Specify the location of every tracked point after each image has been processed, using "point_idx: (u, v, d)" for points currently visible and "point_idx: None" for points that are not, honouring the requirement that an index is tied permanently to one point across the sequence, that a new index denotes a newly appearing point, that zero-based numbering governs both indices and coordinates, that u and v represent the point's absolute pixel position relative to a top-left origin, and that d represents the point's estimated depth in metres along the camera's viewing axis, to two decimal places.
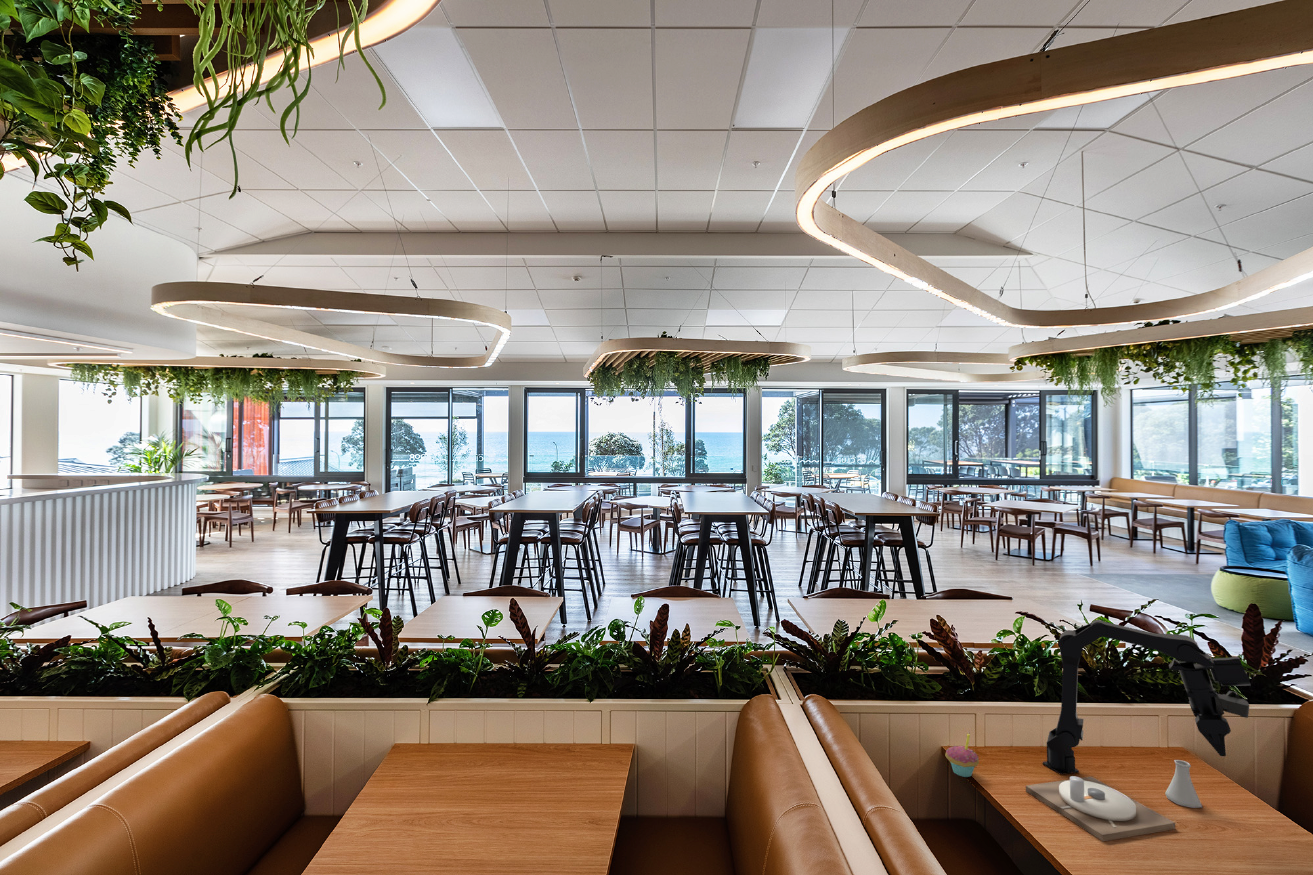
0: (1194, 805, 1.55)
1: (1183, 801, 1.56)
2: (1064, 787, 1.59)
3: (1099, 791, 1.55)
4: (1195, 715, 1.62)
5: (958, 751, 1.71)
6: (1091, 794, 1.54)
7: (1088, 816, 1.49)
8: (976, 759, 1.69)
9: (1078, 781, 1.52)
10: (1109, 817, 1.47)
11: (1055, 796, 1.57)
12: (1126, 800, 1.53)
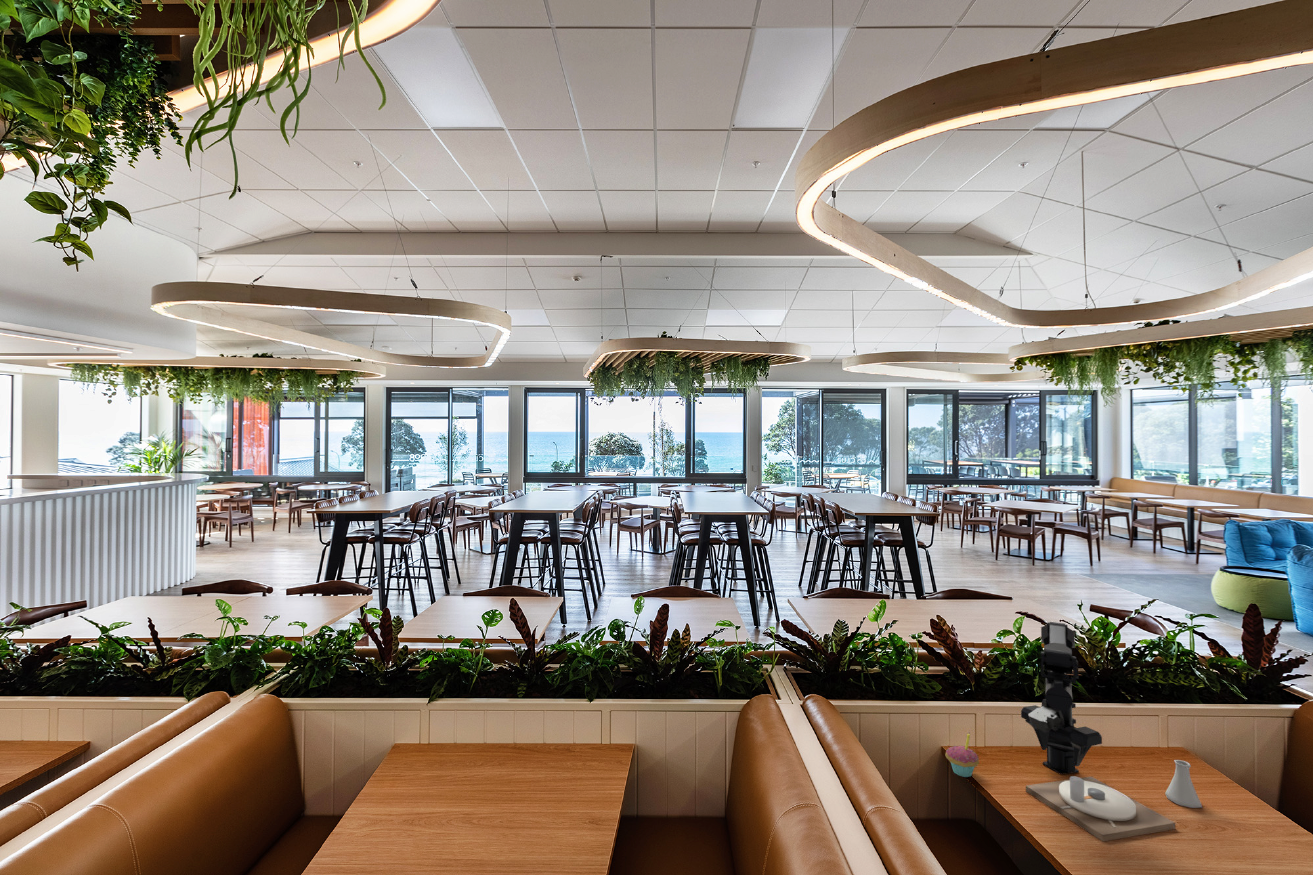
0: (1194, 805, 1.55)
1: (1183, 801, 1.56)
2: (1064, 787, 1.59)
3: (1099, 791, 1.55)
4: None
5: (958, 751, 1.71)
6: (1091, 794, 1.54)
7: (1088, 816, 1.49)
8: (976, 759, 1.69)
9: (1078, 781, 1.52)
10: (1109, 817, 1.47)
11: (1055, 796, 1.57)
12: (1126, 800, 1.53)
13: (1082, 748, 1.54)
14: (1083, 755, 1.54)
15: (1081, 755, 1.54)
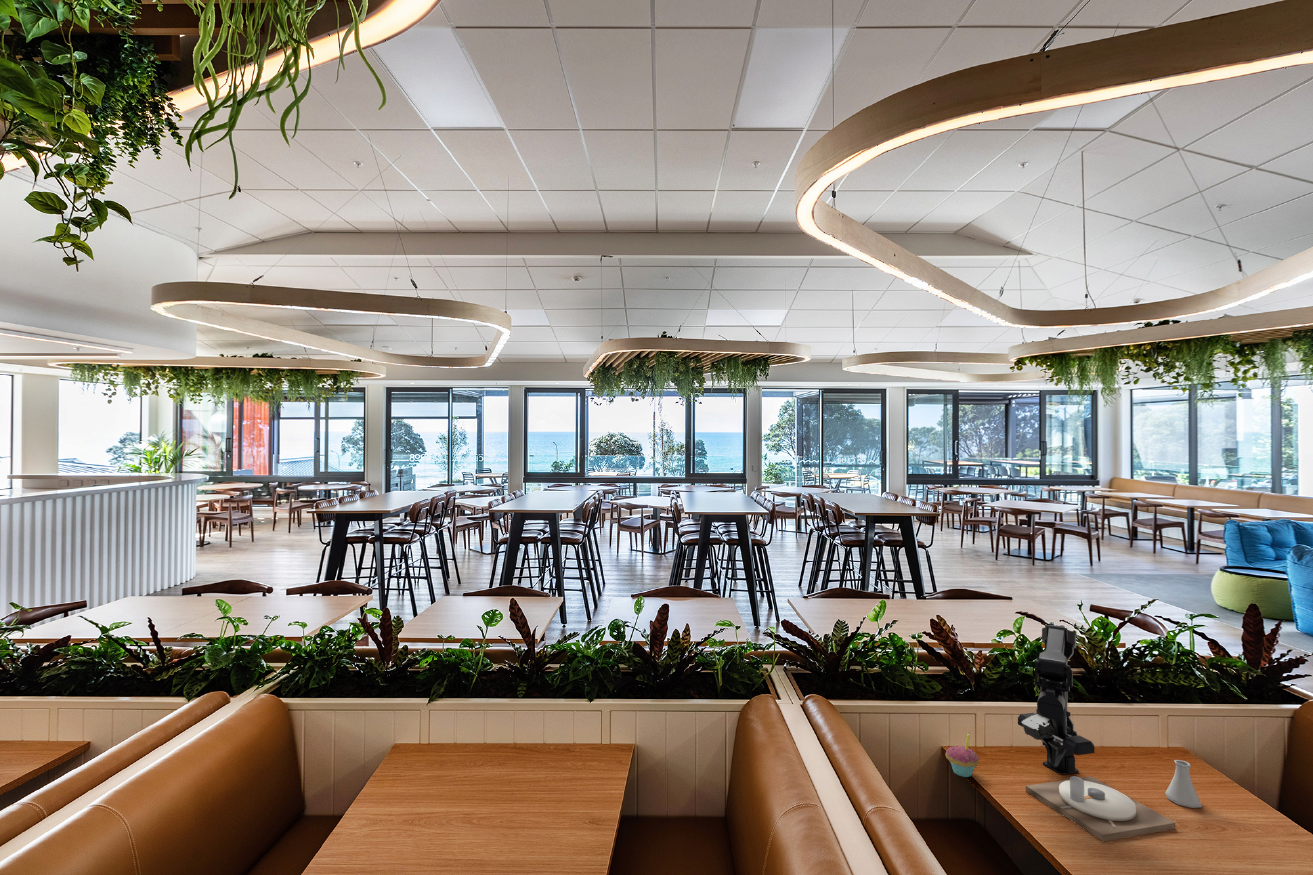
0: (1194, 805, 1.55)
1: (1183, 801, 1.56)
2: (1064, 787, 1.59)
3: (1099, 791, 1.55)
4: None
5: (958, 751, 1.71)
6: (1091, 794, 1.54)
7: (1088, 816, 1.49)
8: (976, 759, 1.69)
9: (1078, 781, 1.52)
10: (1109, 817, 1.47)
11: (1055, 796, 1.57)
12: (1126, 800, 1.53)
13: (1060, 749, 1.59)
14: (1061, 755, 1.59)
15: (1059, 755, 1.59)
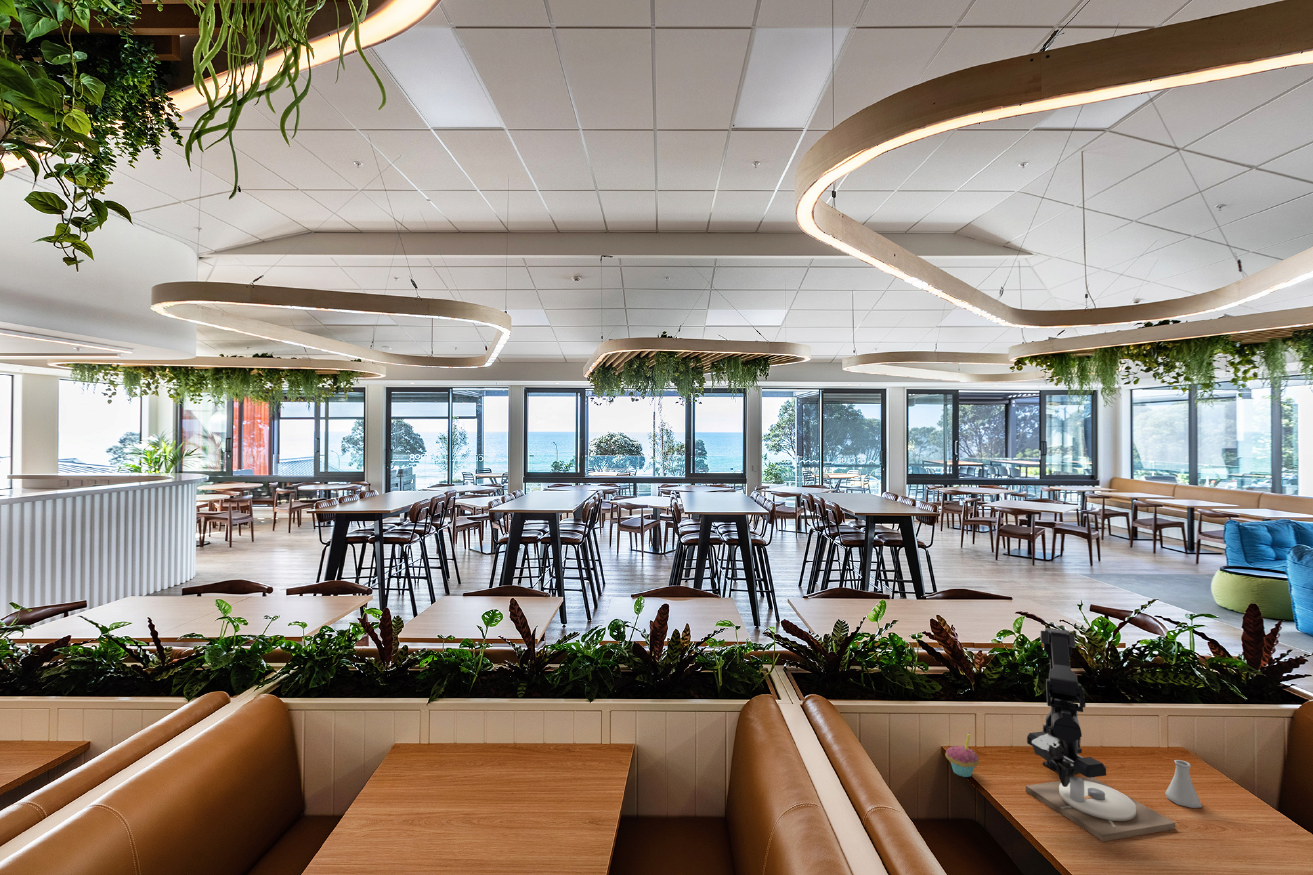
0: (1194, 805, 1.55)
1: (1183, 801, 1.56)
2: (1064, 787, 1.59)
3: (1099, 791, 1.55)
4: None
5: (958, 751, 1.71)
6: (1091, 794, 1.54)
7: (1088, 816, 1.49)
8: (976, 759, 1.69)
9: (1078, 781, 1.52)
10: (1109, 817, 1.47)
11: (1055, 796, 1.57)
12: (1126, 799, 1.53)
13: (1070, 769, 1.56)
14: None
15: (1069, 776, 1.56)
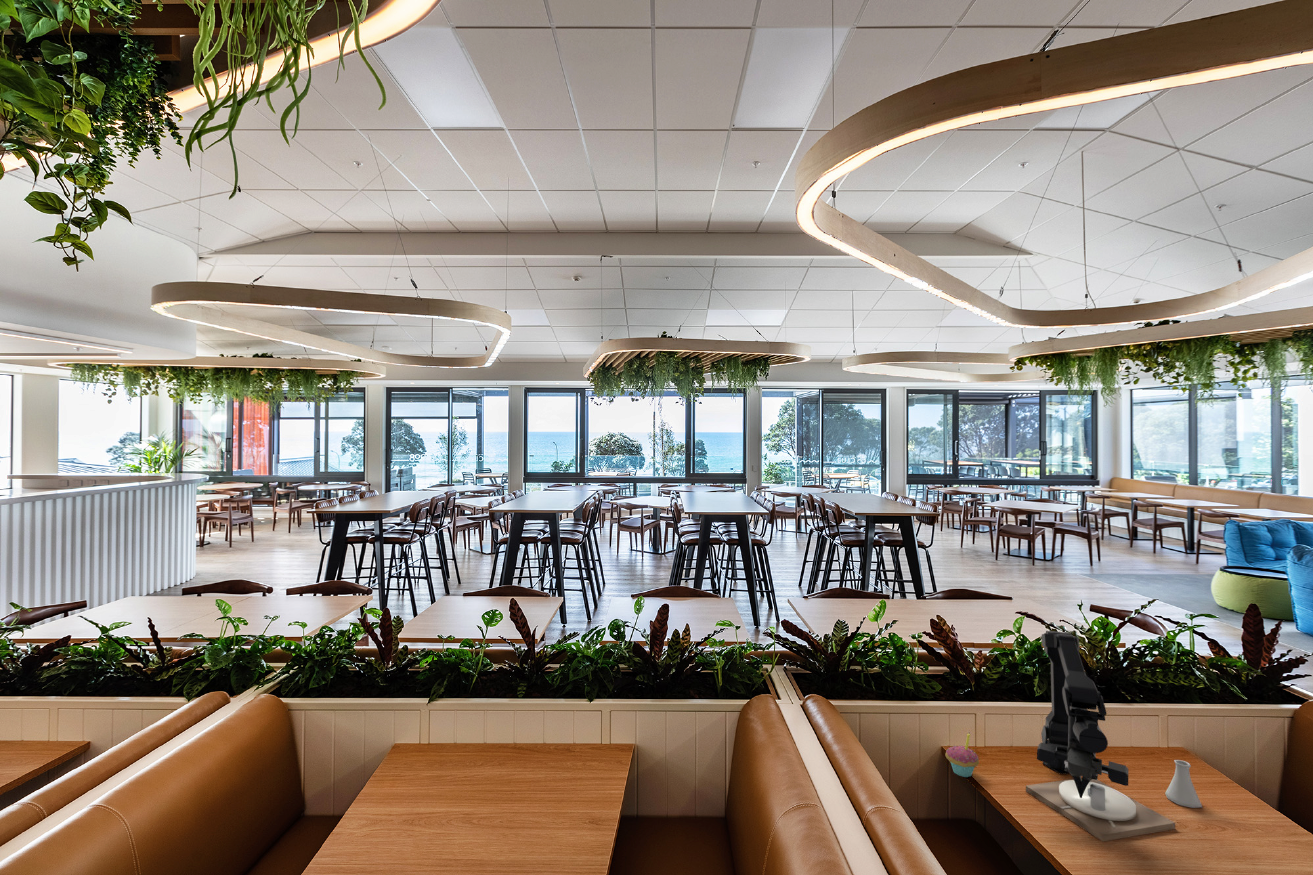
0: (1194, 805, 1.55)
1: (1183, 801, 1.56)
2: (1072, 798, 1.54)
3: None
4: None
5: (958, 751, 1.71)
6: None
7: (1088, 816, 1.49)
8: (976, 759, 1.69)
9: (1102, 789, 1.49)
10: (1132, 816, 1.47)
11: (1055, 796, 1.57)
12: (1109, 789, 1.58)
13: None
14: None
15: None
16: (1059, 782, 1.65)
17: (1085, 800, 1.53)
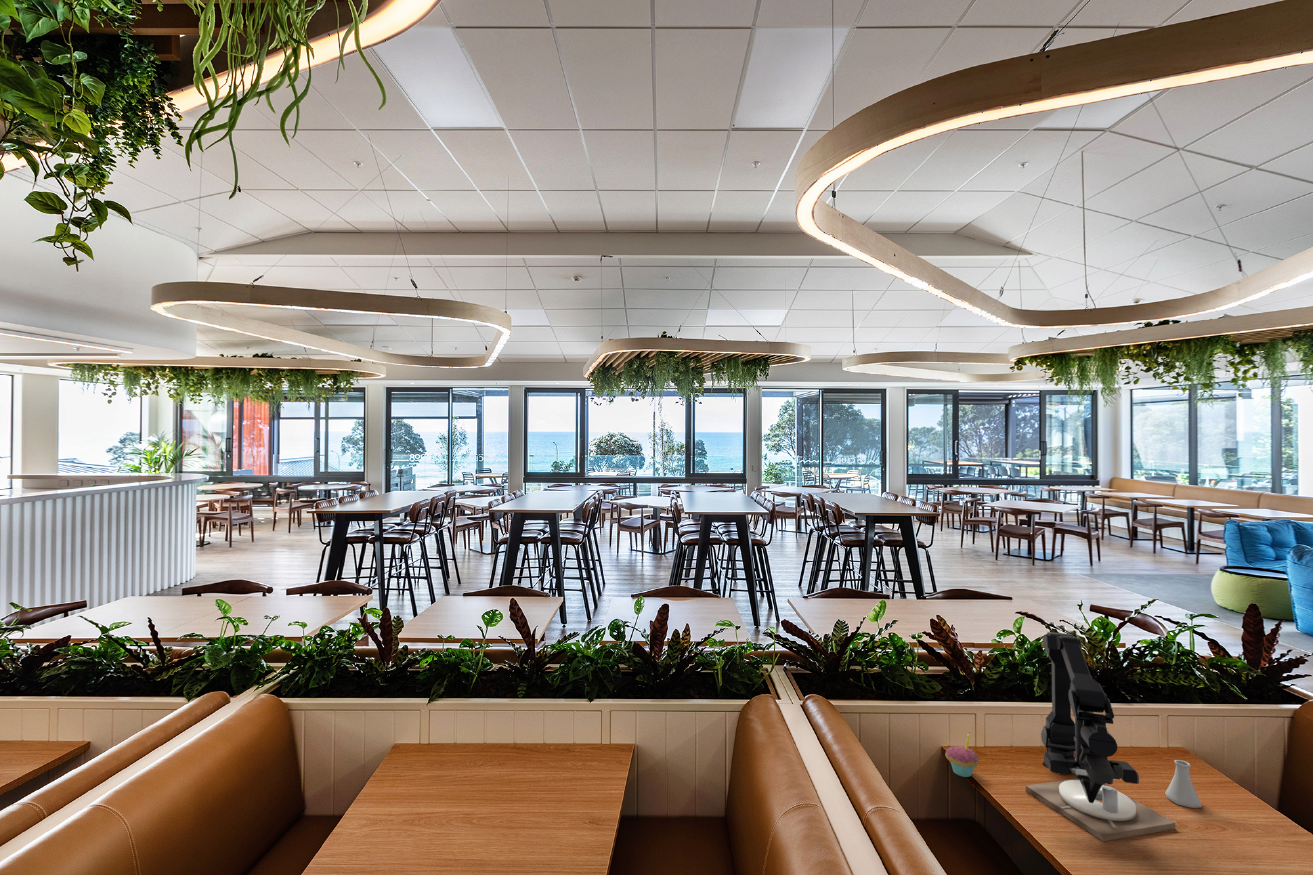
0: (1194, 805, 1.55)
1: (1183, 801, 1.56)
2: (1084, 804, 1.51)
3: None
4: None
5: (958, 751, 1.71)
6: (1100, 797, 1.53)
7: (1088, 816, 1.49)
8: (976, 759, 1.69)
9: (1115, 790, 1.48)
10: None
11: (1055, 796, 1.57)
12: None
13: None
14: None
15: None
16: (1059, 782, 1.65)
17: (1094, 803, 1.51)
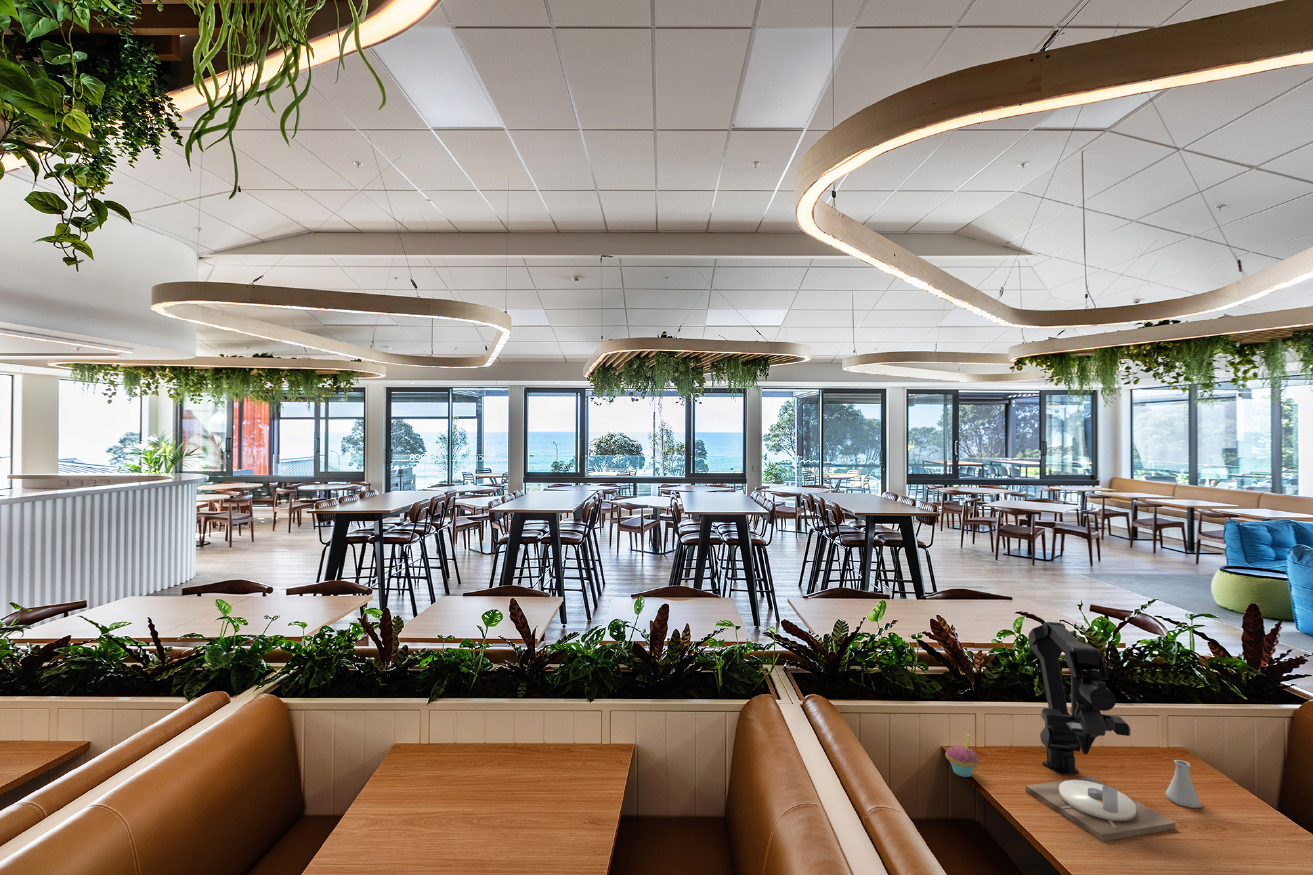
0: (1194, 805, 1.55)
1: (1183, 801, 1.56)
2: (1084, 804, 1.51)
3: (1094, 789, 1.56)
4: None
5: (958, 751, 1.71)
6: (1100, 797, 1.53)
7: (1088, 816, 1.49)
8: (976, 759, 1.69)
9: (1115, 790, 1.48)
10: None
11: (1055, 796, 1.57)
12: (1095, 784, 1.60)
13: None
14: None
15: None
16: (1059, 782, 1.65)
17: (1094, 803, 1.51)
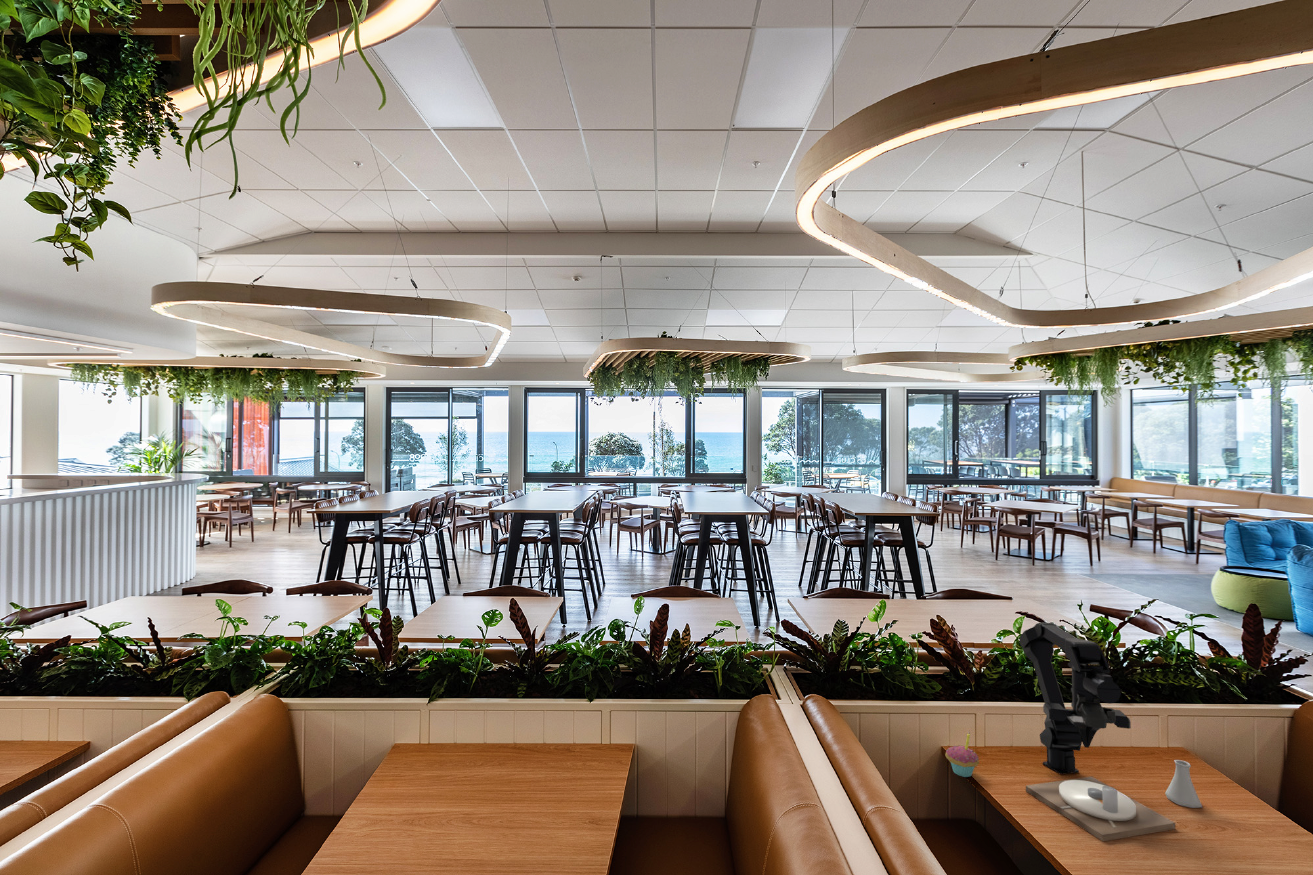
0: (1194, 805, 1.55)
1: (1183, 801, 1.56)
2: (1084, 804, 1.51)
3: (1094, 789, 1.56)
4: None
5: (958, 751, 1.71)
6: (1100, 797, 1.53)
7: (1088, 816, 1.49)
8: (976, 759, 1.69)
9: (1115, 790, 1.48)
10: None
11: (1055, 796, 1.57)
12: (1095, 784, 1.60)
13: None
14: None
15: None
16: (1059, 782, 1.65)
17: (1094, 803, 1.51)
